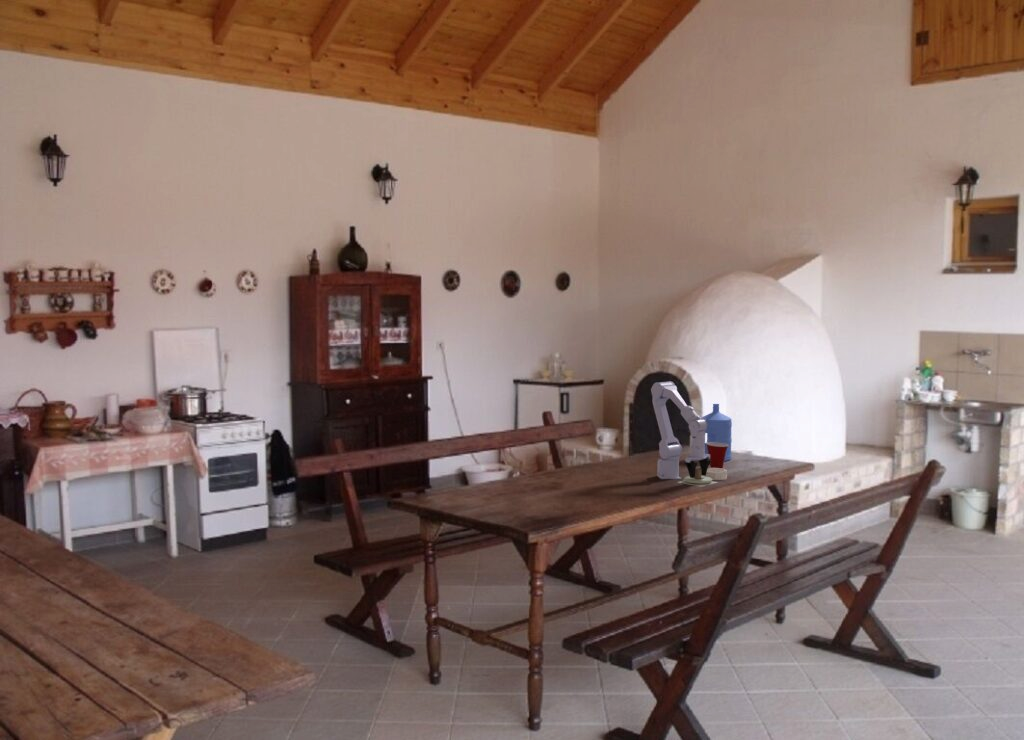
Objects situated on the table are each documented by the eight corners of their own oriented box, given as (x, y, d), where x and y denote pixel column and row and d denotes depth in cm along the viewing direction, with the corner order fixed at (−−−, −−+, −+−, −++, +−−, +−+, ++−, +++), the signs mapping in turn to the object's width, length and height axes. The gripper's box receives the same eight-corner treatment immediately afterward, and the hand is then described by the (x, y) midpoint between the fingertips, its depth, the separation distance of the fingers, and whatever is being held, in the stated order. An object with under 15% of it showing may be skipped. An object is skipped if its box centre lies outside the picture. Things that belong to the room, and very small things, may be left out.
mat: (701, 487, 401) (701, 486, 401) (676, 483, 410) (676, 482, 410) (718, 483, 409) (718, 482, 409) (694, 479, 419) (694, 478, 419)
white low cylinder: (705, 481, 414) (705, 472, 413) (698, 476, 425) (699, 468, 424) (729, 480, 414) (729, 472, 414) (722, 476, 425) (722, 467, 425)
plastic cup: (730, 469, 440) (731, 444, 439) (707, 469, 441) (708, 445, 440) (725, 465, 451) (726, 441, 450) (703, 465, 451) (703, 441, 450)
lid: (687, 485, 403) (687, 471, 403) (680, 479, 415) (680, 466, 415) (715, 484, 404) (715, 471, 404) (707, 478, 416) (707, 465, 416)
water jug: (726, 456, 477) (726, 402, 475) (735, 461, 462) (735, 405, 460) (696, 456, 476) (696, 402, 474) (704, 462, 461) (705, 406, 459)
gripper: (694, 449, 401) (694, 480, 402) (715, 445, 410) (715, 475, 411) (681, 447, 406) (681, 477, 407) (703, 443, 415) (703, 473, 416)
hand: (697, 476), depth 410 cm, fingers open, 7 cm apart
